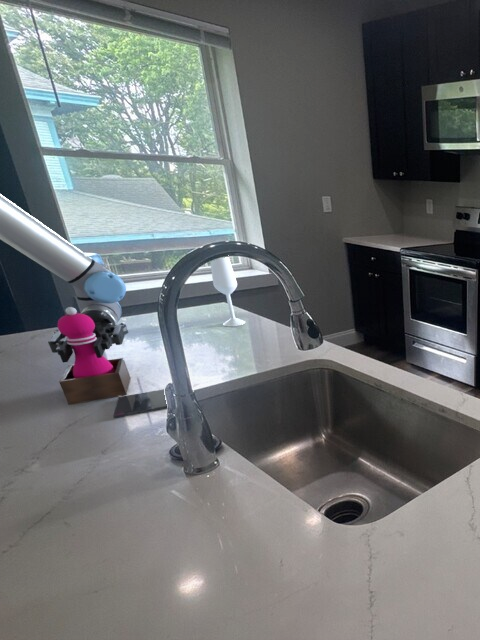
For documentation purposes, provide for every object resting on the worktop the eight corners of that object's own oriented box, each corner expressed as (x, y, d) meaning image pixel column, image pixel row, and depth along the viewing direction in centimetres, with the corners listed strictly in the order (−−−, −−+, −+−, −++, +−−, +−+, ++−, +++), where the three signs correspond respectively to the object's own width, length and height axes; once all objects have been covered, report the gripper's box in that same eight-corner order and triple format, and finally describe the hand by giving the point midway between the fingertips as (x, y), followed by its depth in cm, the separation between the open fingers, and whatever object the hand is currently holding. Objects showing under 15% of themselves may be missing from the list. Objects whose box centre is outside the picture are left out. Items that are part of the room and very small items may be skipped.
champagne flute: (230, 327, 151) (212, 252, 141) (218, 323, 154) (200, 249, 144) (250, 322, 157) (234, 249, 146) (238, 319, 160) (222, 246, 149)
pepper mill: (118, 381, 113) (89, 300, 105) (123, 391, 109) (93, 308, 100) (79, 389, 109) (45, 306, 100) (82, 400, 104) (47, 314, 96)
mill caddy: (68, 404, 102) (58, 381, 100) (76, 386, 110) (68, 365, 108) (126, 394, 107) (118, 373, 105) (130, 378, 115) (123, 357, 113)
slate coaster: (114, 418, 98) (113, 415, 98) (119, 399, 105) (118, 396, 105) (171, 407, 103) (170, 405, 102) (172, 390, 110) (172, 387, 110)
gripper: (144, 332, 124) (137, 362, 106) (54, 343, 115) (30, 378, 97) (136, 305, 121) (127, 331, 103) (42, 313, 112) (15, 344, 94)
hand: (80, 354), depth 100 cm, fingers closed on pepper mill, 5 cm apart
